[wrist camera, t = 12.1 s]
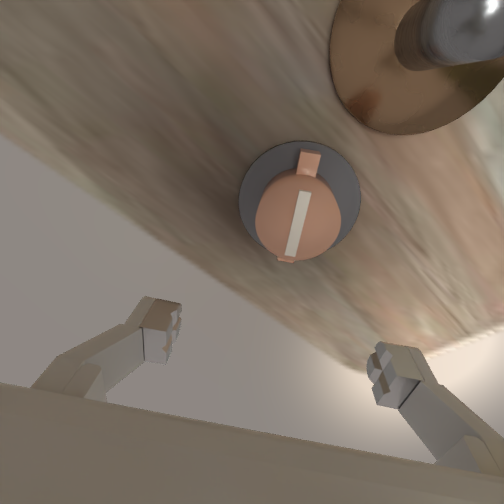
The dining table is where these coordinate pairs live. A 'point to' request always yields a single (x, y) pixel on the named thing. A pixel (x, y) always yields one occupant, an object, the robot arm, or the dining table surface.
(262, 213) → the cap
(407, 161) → the dining table surface
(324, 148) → the pad
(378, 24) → the brown wide round part
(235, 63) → the dining table surface
